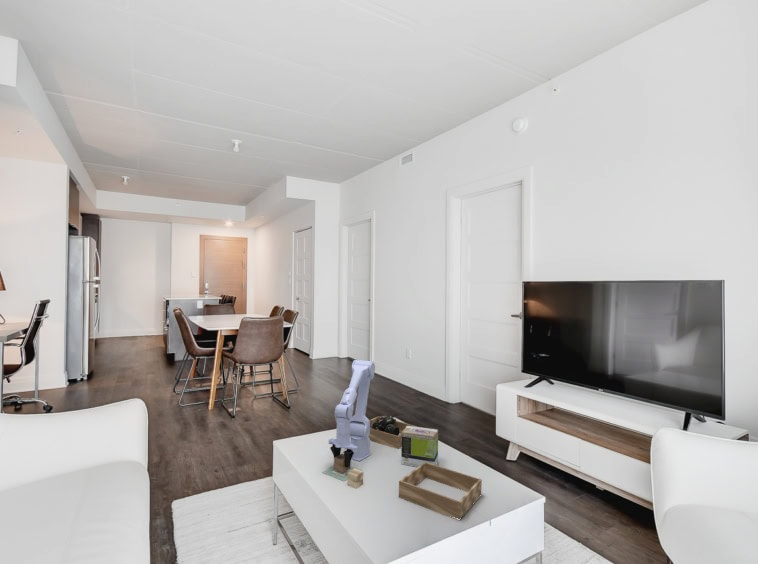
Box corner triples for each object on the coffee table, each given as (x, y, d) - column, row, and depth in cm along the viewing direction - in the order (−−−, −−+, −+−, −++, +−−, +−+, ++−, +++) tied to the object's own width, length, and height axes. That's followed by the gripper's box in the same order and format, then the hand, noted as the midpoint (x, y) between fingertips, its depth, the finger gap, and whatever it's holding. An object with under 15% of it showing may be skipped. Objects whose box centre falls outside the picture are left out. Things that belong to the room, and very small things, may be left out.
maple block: (354, 480, 160) (354, 468, 160) (363, 484, 158) (363, 471, 158) (347, 485, 156) (347, 472, 157) (356, 488, 154) (356, 476, 154)
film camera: (391, 444, 196) (392, 424, 197) (369, 440, 202) (369, 420, 202) (404, 433, 212) (405, 414, 213) (383, 429, 218) (384, 411, 218)
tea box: (438, 461, 180) (439, 428, 180) (433, 470, 171) (434, 436, 171) (406, 455, 185) (407, 424, 185) (400, 464, 176) (401, 431, 176)
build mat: (340, 462, 176) (340, 462, 176) (361, 470, 169) (361, 469, 169) (321, 472, 166) (321, 472, 166) (343, 481, 159) (343, 480, 159)
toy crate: (424, 476, 166) (424, 461, 166) (481, 495, 152) (481, 479, 152) (398, 497, 149) (399, 481, 149) (459, 520, 135) (460, 503, 135)
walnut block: (341, 465, 171) (341, 453, 171) (350, 468, 168) (350, 456, 168) (333, 469, 167) (334, 457, 167) (342, 472, 164) (342, 460, 164)
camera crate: (378, 426, 222) (378, 416, 222) (416, 437, 208) (416, 426, 208) (358, 436, 206) (358, 425, 206) (397, 449, 192) (398, 436, 192)
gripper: (324, 431, 168) (323, 463, 168) (350, 439, 160) (349, 473, 160) (335, 426, 174) (334, 457, 174) (361, 434, 166) (360, 466, 166)
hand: (342, 464), depth 167 cm, fingers closed on walnut block, 5 cm apart
